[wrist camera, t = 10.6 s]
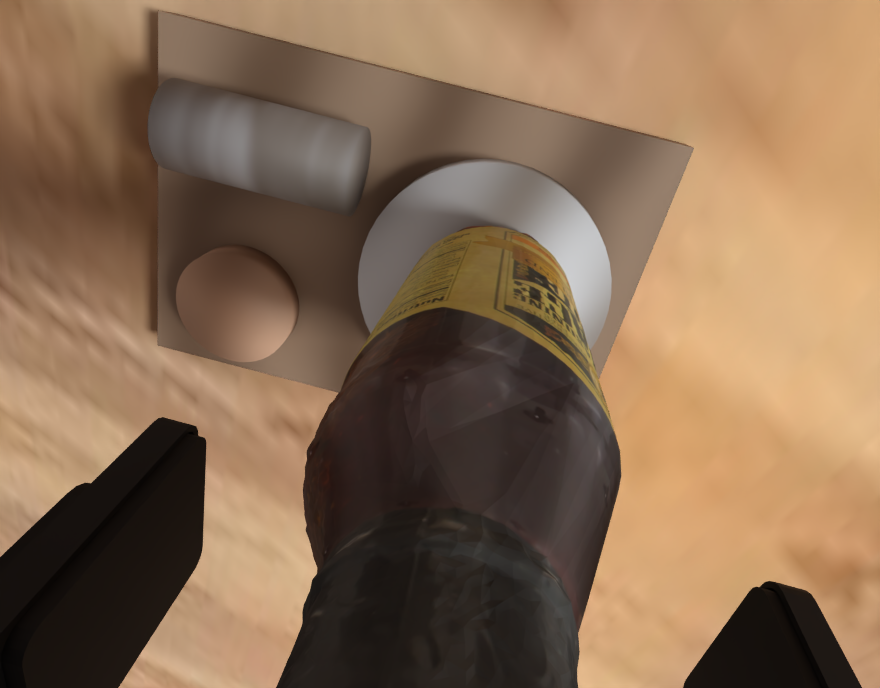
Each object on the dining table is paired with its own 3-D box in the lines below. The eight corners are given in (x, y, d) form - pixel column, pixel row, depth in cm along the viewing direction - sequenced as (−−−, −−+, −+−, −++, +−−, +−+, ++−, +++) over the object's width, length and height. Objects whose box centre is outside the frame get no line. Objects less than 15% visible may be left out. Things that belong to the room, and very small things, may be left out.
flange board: (685, 144, 22) (722, 160, 18) (566, 437, 28) (575, 498, 24) (175, 13, 22) (100, 0, 18) (171, 335, 28) (114, 378, 24)
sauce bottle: (583, 345, 23) (857, 1291, 5) (436, 379, 24) (234, 1218, 6) (545, 186, 21) (815, 893, 3) (385, 233, 22) (-176, 911, 4)
